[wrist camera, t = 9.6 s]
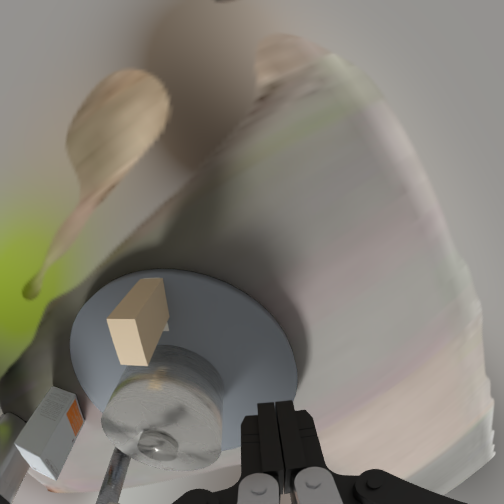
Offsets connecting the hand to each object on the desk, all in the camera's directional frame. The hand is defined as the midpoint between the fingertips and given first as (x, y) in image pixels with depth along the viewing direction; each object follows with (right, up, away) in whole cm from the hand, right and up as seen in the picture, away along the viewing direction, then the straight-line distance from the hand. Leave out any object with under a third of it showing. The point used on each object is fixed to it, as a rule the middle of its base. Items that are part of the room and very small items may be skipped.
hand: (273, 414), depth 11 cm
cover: (-9, -6, +14) cm, 18 cm away
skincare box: (-26, -14, +18) cm, 35 cm away
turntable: (-9, -6, +16) cm, 19 cm away
